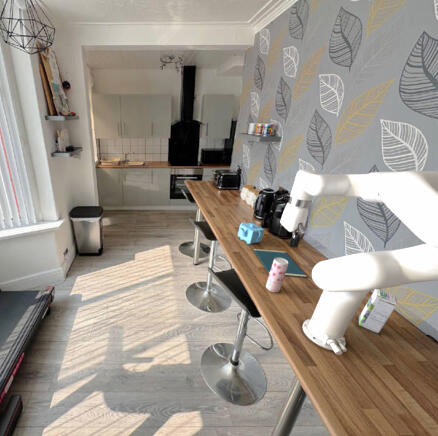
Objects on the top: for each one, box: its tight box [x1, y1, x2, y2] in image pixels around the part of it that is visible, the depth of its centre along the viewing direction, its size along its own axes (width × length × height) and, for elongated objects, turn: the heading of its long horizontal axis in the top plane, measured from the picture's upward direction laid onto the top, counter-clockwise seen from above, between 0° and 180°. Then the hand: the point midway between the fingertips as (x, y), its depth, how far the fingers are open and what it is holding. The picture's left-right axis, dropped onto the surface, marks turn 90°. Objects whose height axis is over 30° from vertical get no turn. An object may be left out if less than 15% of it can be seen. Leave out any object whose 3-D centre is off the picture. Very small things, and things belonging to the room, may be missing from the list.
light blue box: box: [237, 222, 265, 245], centre depth 146 cm, size 16×18×11 cm
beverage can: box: [265, 257, 288, 293], centre depth 103 cm, size 6×6×15 cm
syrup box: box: [358, 289, 398, 334], centre depth 86 cm, size 6×6×14 cm
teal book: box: [253, 248, 308, 278], centre depth 127 cm, size 24×18×1 cm
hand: (287, 240), depth 98 cm, fingers open, 9 cm apart
